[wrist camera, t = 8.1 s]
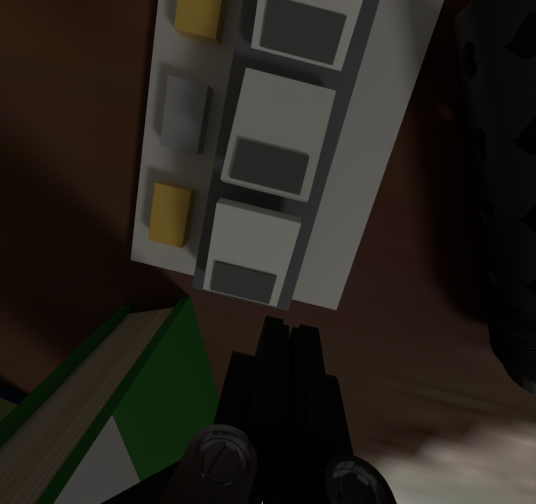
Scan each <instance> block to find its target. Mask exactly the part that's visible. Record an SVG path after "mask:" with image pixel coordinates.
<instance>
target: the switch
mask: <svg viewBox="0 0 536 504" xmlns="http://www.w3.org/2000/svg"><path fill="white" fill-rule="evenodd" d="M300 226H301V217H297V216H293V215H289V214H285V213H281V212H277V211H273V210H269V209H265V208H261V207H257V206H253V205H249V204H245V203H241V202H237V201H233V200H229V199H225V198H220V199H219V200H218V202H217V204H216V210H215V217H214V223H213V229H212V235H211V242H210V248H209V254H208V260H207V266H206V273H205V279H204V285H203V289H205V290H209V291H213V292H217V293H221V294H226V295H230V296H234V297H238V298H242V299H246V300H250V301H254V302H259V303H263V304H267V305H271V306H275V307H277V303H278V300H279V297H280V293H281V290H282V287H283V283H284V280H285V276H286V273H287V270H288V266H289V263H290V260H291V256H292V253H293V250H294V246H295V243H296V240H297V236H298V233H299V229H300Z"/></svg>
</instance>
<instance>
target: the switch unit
mask: <svg viewBox="0 0 536 504" xmlns="http://www.w3.org/2000/svg"><path fill="white" fill-rule="evenodd" d="M257 2H258V0H158V8H157V18H156V27H155V36H154V46H153V55H152V64H151V74H150V83H149V93H148V102H147V111H146V121H145V130H144V139H143V149H142V158H141V168H140V177H139V186H138V196H137V205H136V214H135V224H134V233H133V243H132V252H131V260H133V261H137V262H141V263H145V264H149V265H153V266H157V267H161V268H166V269H170V270H174V271H178V272H182V273H186V274H190V275H194V278H193V283H192V288H195V289H200V290H204V291H208V292H212V293H216V294H220V295H224V296H228V297H233V298H237V299H241V300H245V301H249V302H253V303H257V304H262V305H266V306H270V307H274V308H278V309H282V310H286V311H289V307H290V304H291V300H292V299H293V300H297V301H302V302H306V303H310V304H314V305H318V306H322V307H326V308H330V309H334V310H336V309H337V306H338V303H339V300H340V298H341V295H342V292H343V289H344V286H345V283H346V280H347V277H348V275H349V272H350V269H351V266H352V263H353V260H354V257H355V254H356V252H357V249H358V246H359V243H360V240H361V237H362V234H363V231H364V229H365V226H366V223H367V220H368V217H369V214H370V211H371V209H372V206H373V203H374V200H375V197H376V194H377V191H378V188H379V186H380V183H381V180H382V177H383V174H384V171H385V168H386V165H387V163H388V160H389V157H390V154H391V151H392V148H393V145H394V143H395V140H396V137H397V134H398V131H399V128H400V125H401V122H402V120H403V117H404V114H405V111H406V108H407V105H408V102H409V99H410V97H411V94H412V91H413V88H414V85H415V82H416V79H417V77H418V74H419V71H420V68H421V65H422V62H423V59H424V56H425V54H426V51H427V48H428V45H429V42H430V39H431V36H432V33H433V31H434V28H435V25H436V22H437V19H438V16H439V13H440V10H441V8H442V5H443V2H444V0H363V1H362V5H361V8H360V11H359V14H358V18H357V21H356V24H355V27H354V31H353V34H352V37H351V40H350V44H349V47H348V50H347V53H346V56H345V60H344V63H343V66H342V69H341V71H338V70H335V69H331V68H327V67H323V66H319V65H315V64H311V63H308V62H304V61H300V60H296V59H292V58H288V57H285V56H281V55H277V54H273V53H269V52H265V51H262V50H258V49H254V48H251V44H252V37H253V30H254V23H255V16H256V9H257ZM246 68H250V69H254V70H258V71H262V72H266V73H269V74H273V75H277V76H281V77H285V78H289V79H293V80H296V81H300V82H304V83H308V84H312V85H316V86H320V87H324V88H327V89H331V90H335V91H336V93H335V97H334V101H333V105H332V109H331V113H330V117H329V121H328V125H327V129H326V133H325V137H324V141H323V144H322V148H321V152H320V156H319V160H318V164H317V168H316V172H315V176H314V180H313V184H312V188H311V192H310V196H309V200H308V201H307V202H302V201H298V200H294V199H290V198H286V197H282V196H278V195H274V194H270V193H266V192H262V191H258V190H254V189H250V188H246V187H242V186H238V185H234V184H230V183H226V182H223V181H222V180H221V179H220V178H221V174H222V169H223V165H224V161H225V156H226V152H227V148H228V144H229V139H230V135H231V131H232V126H233V122H234V118H235V113H236V109H237V105H238V100H239V96H240V92H241V88H242V83H243V79H244V75H245V70H246ZM220 198H225V199H229V200H233V201H237V202H241V203H245V204H249V205H253V206H257V207H261V208H265V209H269V210H273V211H277V212H281V213H285V214H289V215H293V216H297V217H301V226H300V229H299V233H298V236H297V240H296V243H295V246H294V250H293V253H292V256H291V260H290V263H289V266H288V270H287V273H286V276H285V280H284V283H283V287H282V290H281V293H280V297H279V300H278V303H277V307H275V306H271V305H267V304H263V303H259V302H254V301H250V300H246V299H242V298H238V297H234V296H230V295H226V294H221V293H217V292H213V291H209V290H205V289H203V285H204V279H205V273H206V266H207V260H208V254H209V248H210V242H211V235H212V229H213V223H214V217H215V210H216V204H217V202H218V200H219V199H220Z"/></svg>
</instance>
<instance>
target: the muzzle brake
mask: <svg viewBox="0 0 536 504" xmlns="http://www.w3.org/2000/svg"><path fill="white" fill-rule="evenodd" d="M453 22H454V30H455V38H456V46H457V53H458V61H459V69H460V77H461V85H462V93H463V101H464V109H465V116H466V124H467V132H468V140H469V148H470V156H471V164H472V171H473V179H474V187H475V195H476V203H477V211H478V219H479V227H480V234H481V242H482V250H483V258H484V266H485V274H486V282H487V288H488V289H489V291H490V292H491V294H492V295H491V297H490V300H489V301H488V304H487V306H486V314H487V322H488V329H489V337H490V344H491V348H492V350H493V352H494V354H495V356H496V357H497V358H498V359H499V360H500V362H501V363H502V364H503V366H504V368H505V370H506V372H507V374H508V375H509V376H510V377H511V379H512V380H513V381H514V382H515V383H517V384H518V385H519V386H520V387H522V388H523V389H525V390H526V391H528V392H530V393H531V394H534V395H536V0H475V1H474V2H472V3H471V4H470V5H468V6H467V7H466V8H464V9H463V10H462V11H461V12H460V13H459V14H458V15H457V16H456V18H455V19H454V21H453Z"/></svg>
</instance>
